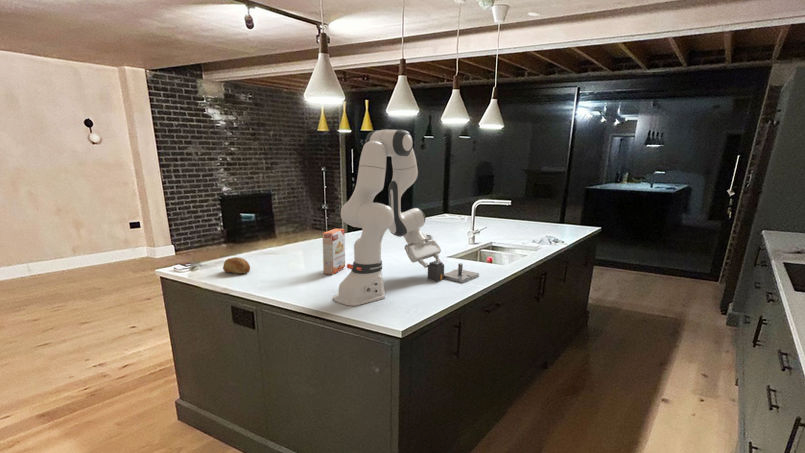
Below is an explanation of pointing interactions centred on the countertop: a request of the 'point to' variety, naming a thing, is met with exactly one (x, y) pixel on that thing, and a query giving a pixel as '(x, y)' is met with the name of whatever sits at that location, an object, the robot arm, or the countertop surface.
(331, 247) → the cracker box
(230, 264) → the bread roll
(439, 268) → the dark grey block
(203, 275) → the countertop surface
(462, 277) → the hub plate
